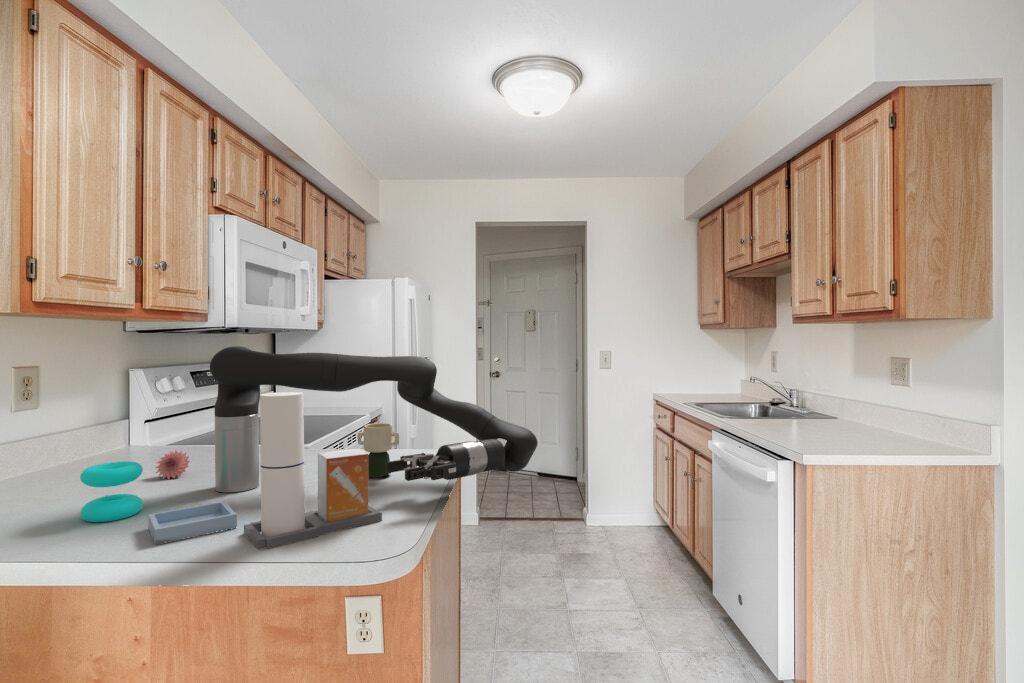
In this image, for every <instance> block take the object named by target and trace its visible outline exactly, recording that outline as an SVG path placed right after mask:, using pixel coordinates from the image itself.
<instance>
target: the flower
mask: <svg viewBox="0 0 1024 683" xmlns="http://www.w3.org/2000/svg"><path fill="white" fill-rule="evenodd" d="M189 457H190V456H187V452H184V453H183V451H182V450H180V451H179V452H178V450H176V449H175V451H171V450H169V454H168V453H164V456H163V457H159V461H157V462H156V464H158V465H157V466H155V469H157V471H156V472H155V474H157V473H159V474H158V477H161V476H162V480H165V478H166V479H168V480H169V481H170V479H171V478H173V479H176V477H180V476H182V474H183V473H185V472H186V469H188V467H189V463H190V462H191V461H190V460H189Z"/></svg>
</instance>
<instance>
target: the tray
mask: <svg viewBox="0 0 1024 683" xmlns="http://www.w3.org/2000/svg"><path fill="white" fill-rule="evenodd" d="M147 516H148V530H150V531H149V533H150V535H151V537H153V538H152V540H153V542H155V543H154V545H155V546H157V544H158V545H162V544H161V543H163V544H166V543H165V542H168V543H171V542H170V541H173V542H175V541H174V540H178V541H180V540H179V539H182V540H184V539H183V538H187V539H189V538H188V537H192V538H194V537H193V536H197V537H199V536H198V535H202V536H204V535H203V534H207V533H212V532H216V531H221V530H226V529H231V528H236V527H237V528H238V514H237V512H236V511H234V509H232V508H231V506H229V504H228V503H227V502H226V501H225V500H223V501H216V502H211V503H205V504H200V505H194V506H188V507H183V508H179V509H178V508H176V509H172V510H171V509H170V510H166V511H160V512H154V513H149V514H147ZM237 528H236V529H237ZM231 530H232V529H231ZM226 531H227V530H226ZM221 532H222V531H221ZM216 533H217V532H216ZM212 534H213V533H212ZM207 535H208V534H207Z"/></svg>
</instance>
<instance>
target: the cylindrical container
mask: <svg viewBox="0 0 1024 683" xmlns="http://www.w3.org/2000/svg"><path fill="white" fill-rule="evenodd" d="M304 397H305V396H304V392H301V391H284V392H282V391H281V392H267V393H260V400H259V413H260V414H259V417H260V418H259V421H260V422H259V423H260V425H259V429H260V430H259V441H260V442H259V443H260V517H261V518H260V521H261V531H260V533H261V534H262V535H263V536H264V537H265V538H266V537H270V536H275V535H279V534H284V533H288V532H293V531H297V530H302V529H306V527H305V513H306V512H305V510H306V509H305V508H306V507H305V427H304V426H305V421H304V420H305V418H304V416H305V411H304V410H305V407H304V406H305V405H304V402H305V401H304Z"/></svg>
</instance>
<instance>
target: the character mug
mask: <svg viewBox="0 0 1024 683" xmlns="http://www.w3.org/2000/svg"><path fill="white" fill-rule="evenodd" d="M362 436H363V440H362ZM393 437H395V438H393ZM394 439H395V440H394ZM393 440H394V441H393ZM357 444H358V445H359V446H363V450H364V452H366V453H368V477H370V478H380V477H383V476H385V477H386V476H388V475H391V473H388V472H386V463H387V462H390V461H391V460H390V454H389V452H388V451H390V450H392V448H393V446H394V447H395V446H399V445H400V435H399V432H397V431H396V432H395V431H394V430H393V424H392V423H387V422H379V423H378V422H377V423H369V424H365V425H363V431H358V432H357Z"/></svg>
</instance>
